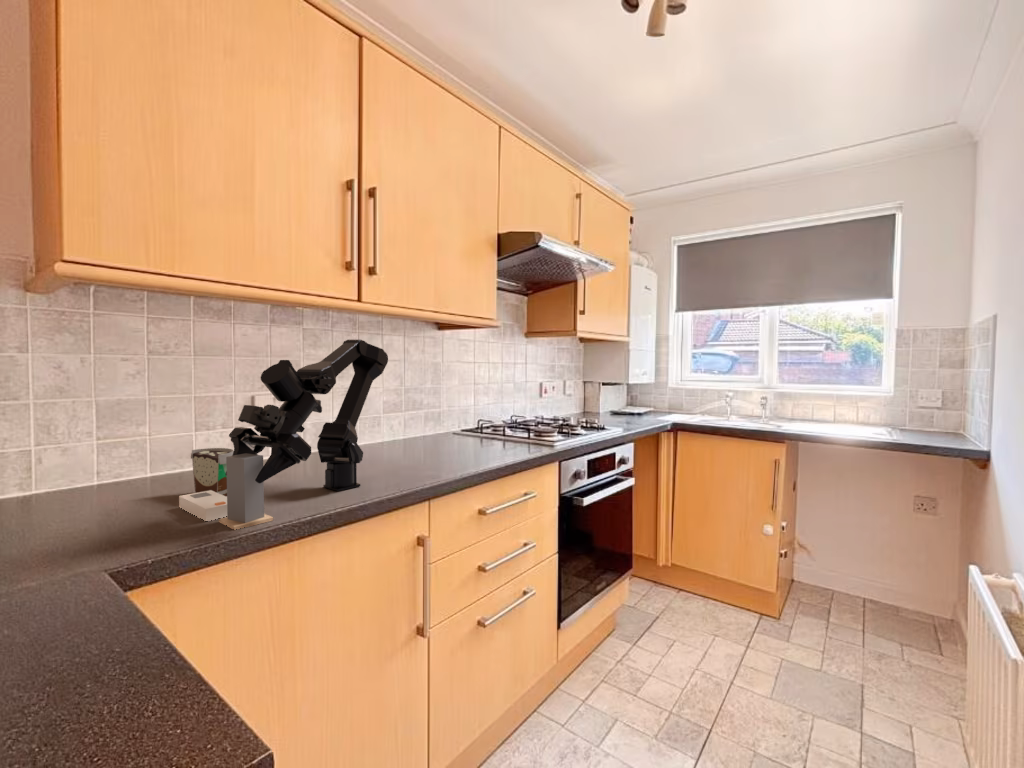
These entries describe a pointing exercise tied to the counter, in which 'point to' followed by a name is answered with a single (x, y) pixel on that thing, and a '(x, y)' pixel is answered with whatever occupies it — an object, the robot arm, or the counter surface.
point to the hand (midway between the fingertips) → (241, 479)
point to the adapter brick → (244, 488)
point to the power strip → (205, 505)
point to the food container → (210, 469)
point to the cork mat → (239, 525)
